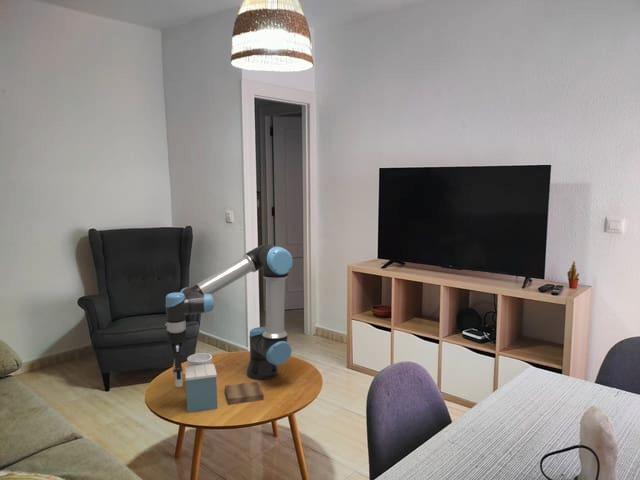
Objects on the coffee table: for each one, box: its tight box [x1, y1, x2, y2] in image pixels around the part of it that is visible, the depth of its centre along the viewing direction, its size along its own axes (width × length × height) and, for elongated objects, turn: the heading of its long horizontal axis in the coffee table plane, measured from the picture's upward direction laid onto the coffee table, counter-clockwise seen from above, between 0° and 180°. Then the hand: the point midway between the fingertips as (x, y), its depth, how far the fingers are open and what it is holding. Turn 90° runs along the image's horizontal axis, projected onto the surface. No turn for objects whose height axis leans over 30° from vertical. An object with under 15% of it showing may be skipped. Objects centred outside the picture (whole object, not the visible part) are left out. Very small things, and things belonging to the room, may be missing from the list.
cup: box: [186, 352, 213, 367], centre depth 227 cm, size 11×11×14 cm
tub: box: [184, 376, 218, 414], centre depth 210 cm, size 12×12×14 cm
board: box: [224, 381, 265, 406], centre depth 219 cm, size 15×14×2 cm
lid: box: [172, 362, 218, 382], centre depth 208 cm, size 17×12×6 cm
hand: (178, 379), depth 207 cm, fingers open, 13 cm apart
